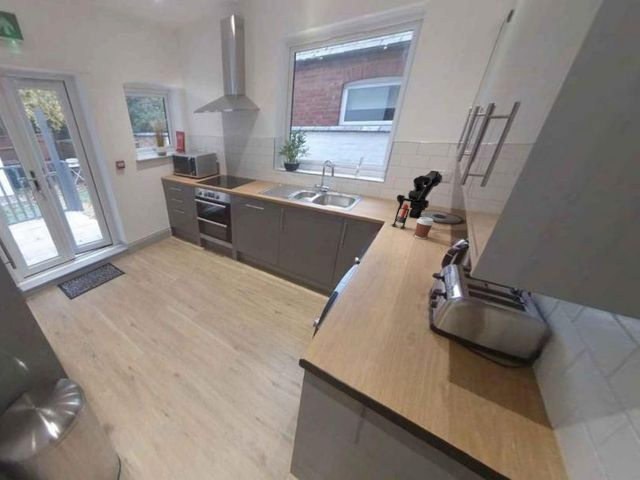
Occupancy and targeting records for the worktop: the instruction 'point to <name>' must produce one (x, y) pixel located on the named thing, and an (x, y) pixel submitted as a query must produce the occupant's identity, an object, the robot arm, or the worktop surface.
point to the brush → (401, 219)
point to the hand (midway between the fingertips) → (406, 211)
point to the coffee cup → (423, 227)
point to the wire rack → (397, 216)
